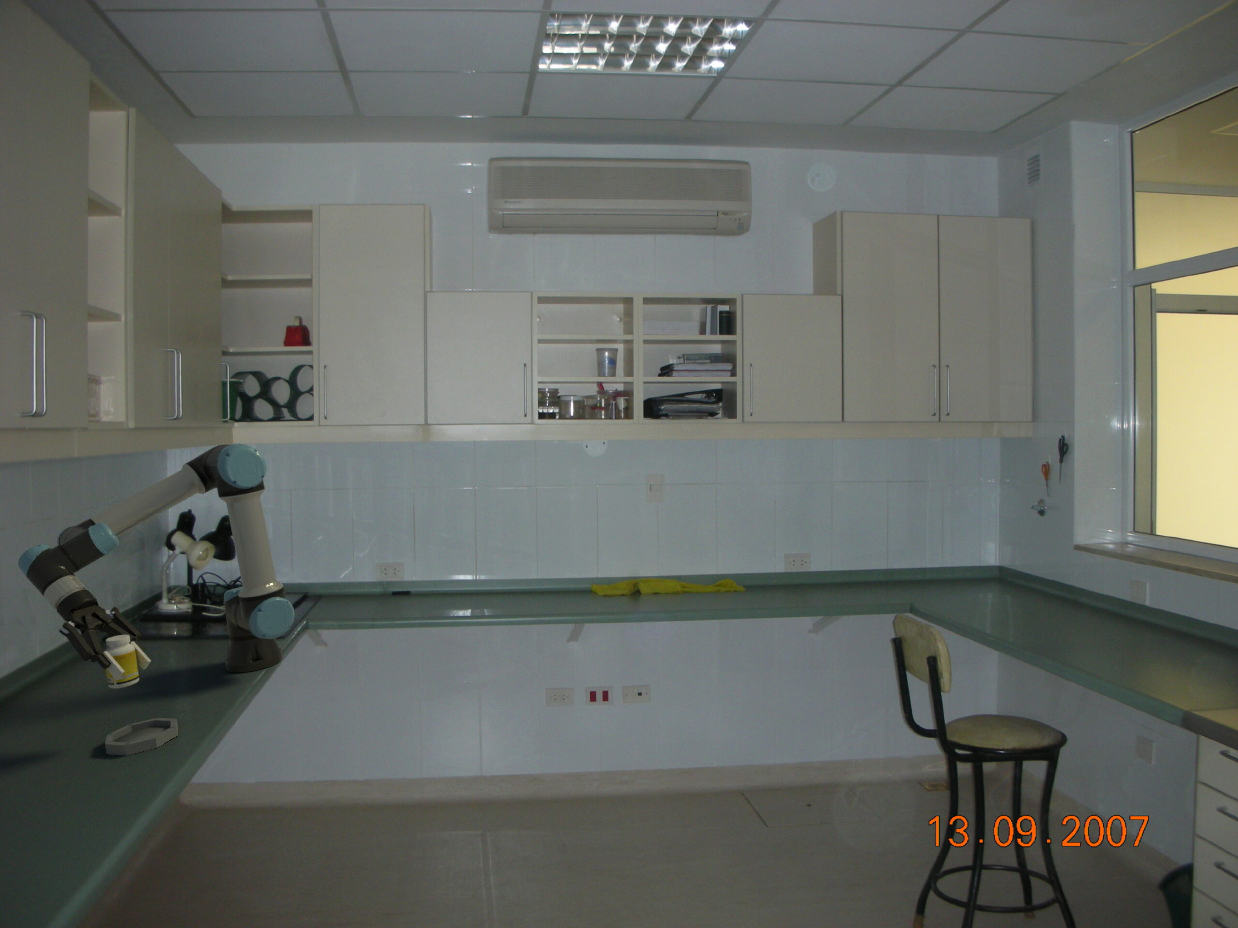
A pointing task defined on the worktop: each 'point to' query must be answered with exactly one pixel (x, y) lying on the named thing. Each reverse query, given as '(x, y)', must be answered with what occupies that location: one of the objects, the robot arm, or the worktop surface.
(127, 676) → the pill bottle
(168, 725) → the octagonal tray
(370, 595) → the worktop surface
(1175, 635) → the worktop surface
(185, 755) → the worktop surface
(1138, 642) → the worktop surface
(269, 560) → the robot arm
